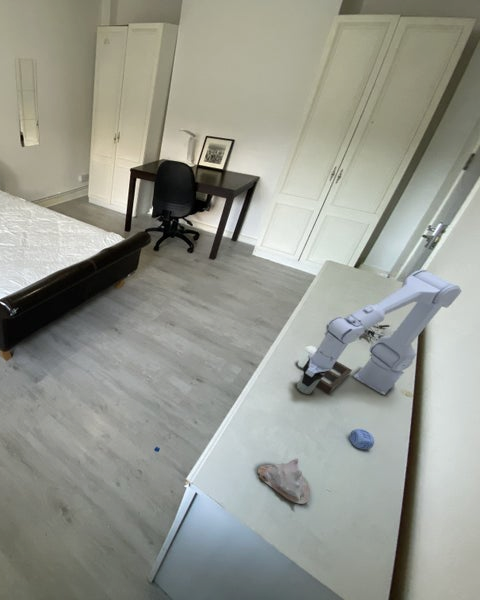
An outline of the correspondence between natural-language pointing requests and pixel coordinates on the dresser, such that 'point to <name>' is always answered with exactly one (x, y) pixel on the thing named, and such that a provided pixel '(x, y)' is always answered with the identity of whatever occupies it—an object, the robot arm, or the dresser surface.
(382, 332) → the clip-on lamp
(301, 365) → the milkshake
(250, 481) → the dresser surface
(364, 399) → the dresser surface
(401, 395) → the dresser surface
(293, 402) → the dresser surface
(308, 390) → the grey hollow cylinder
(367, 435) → the decorative dice
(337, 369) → the holder
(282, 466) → the seashell
